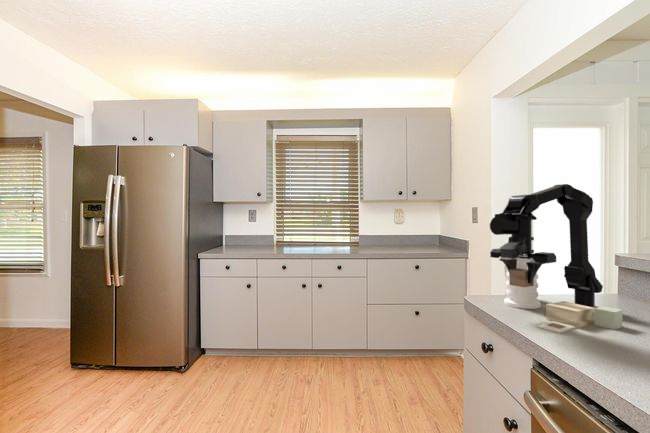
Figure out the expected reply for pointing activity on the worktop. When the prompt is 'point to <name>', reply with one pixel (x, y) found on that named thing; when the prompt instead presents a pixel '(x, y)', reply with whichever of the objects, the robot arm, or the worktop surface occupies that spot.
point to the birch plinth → (570, 314)
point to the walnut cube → (519, 277)
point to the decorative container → (522, 291)
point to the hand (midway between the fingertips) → (521, 281)
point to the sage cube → (608, 317)
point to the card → (556, 327)
